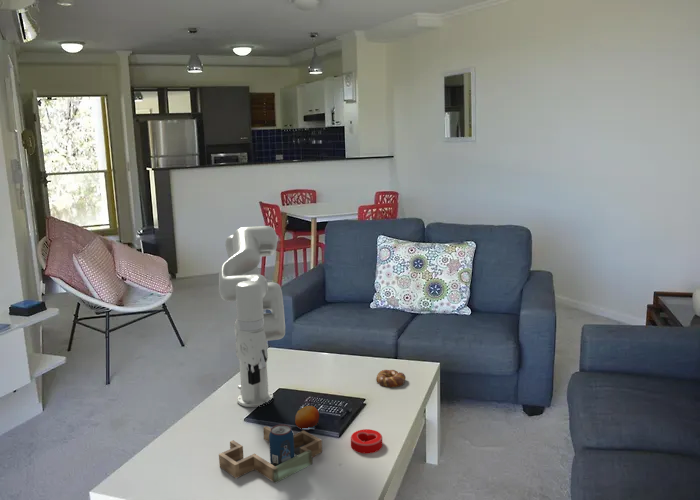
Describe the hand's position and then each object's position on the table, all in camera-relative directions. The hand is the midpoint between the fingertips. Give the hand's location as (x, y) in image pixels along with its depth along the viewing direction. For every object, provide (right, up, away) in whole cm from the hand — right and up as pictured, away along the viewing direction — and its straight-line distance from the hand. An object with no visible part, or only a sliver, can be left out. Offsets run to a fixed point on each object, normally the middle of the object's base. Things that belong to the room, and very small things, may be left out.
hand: (254, 382), depth 183 cm
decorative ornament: (+33, -21, +6) cm, 40 cm away
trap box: (+5, -22, 0) cm, 23 cm away
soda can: (+9, -23, -5) cm, 26 cm away
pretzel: (+43, -11, +51) cm, 68 cm away
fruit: (+14, -18, +18) cm, 30 cm away
